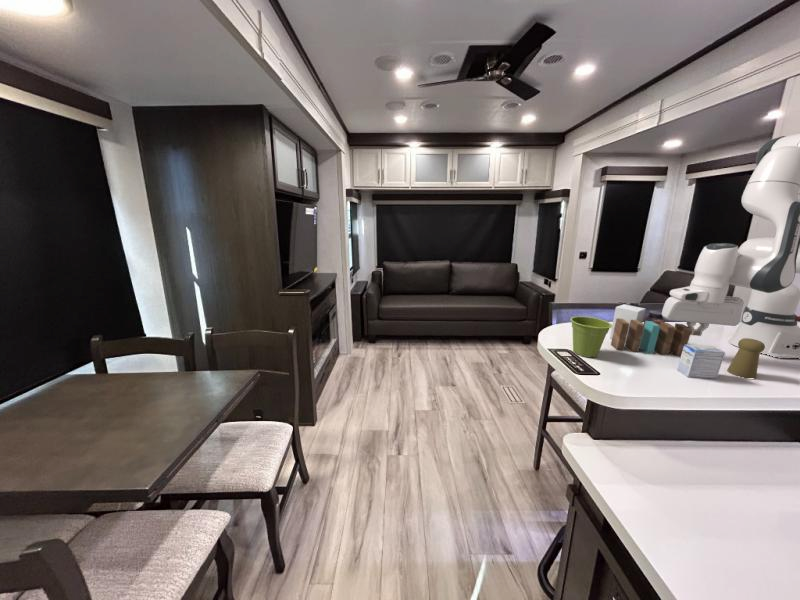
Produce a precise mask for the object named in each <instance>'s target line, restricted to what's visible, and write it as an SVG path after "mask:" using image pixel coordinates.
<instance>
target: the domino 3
mask: <svg viewBox="0 0 800 600" xmlns="http://www.w3.org/2000/svg"><path fill="white" fill-rule="evenodd" d="M659 329H660V326H659V325H657V324H656V323H654V322H652V321H646V322H645V326H644V330H643V334H642V338H641V342H640V346H639V349H640V350H641V351H643V352H644V353H645V354H651V355H652V354H653V355H654V352H655V350H654V348H655V345H656V341H657V337H658V333H659Z"/></svg>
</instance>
